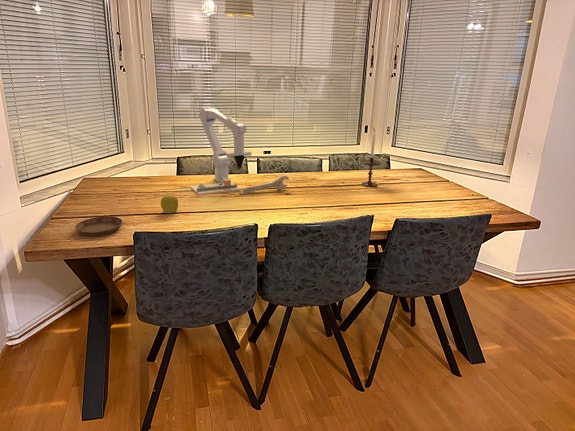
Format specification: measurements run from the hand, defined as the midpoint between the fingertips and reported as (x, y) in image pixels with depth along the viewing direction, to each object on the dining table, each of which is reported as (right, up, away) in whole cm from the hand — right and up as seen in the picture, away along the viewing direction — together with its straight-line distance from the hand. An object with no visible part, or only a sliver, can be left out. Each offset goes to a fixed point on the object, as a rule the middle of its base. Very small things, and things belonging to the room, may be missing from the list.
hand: (239, 168), depth 235 cm
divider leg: (-8, -10, -5) cm, 14 cm away
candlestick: (+78, -9, +10) cm, 79 cm away
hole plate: (-13, -12, -7) cm, 19 cm away
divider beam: (-13, -12, -7) cm, 19 cm away
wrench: (+15, -14, -8) cm, 22 cm away
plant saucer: (-49, -34, -69) cm, 91 cm away
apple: (-27, -26, -46) cm, 59 cm away
